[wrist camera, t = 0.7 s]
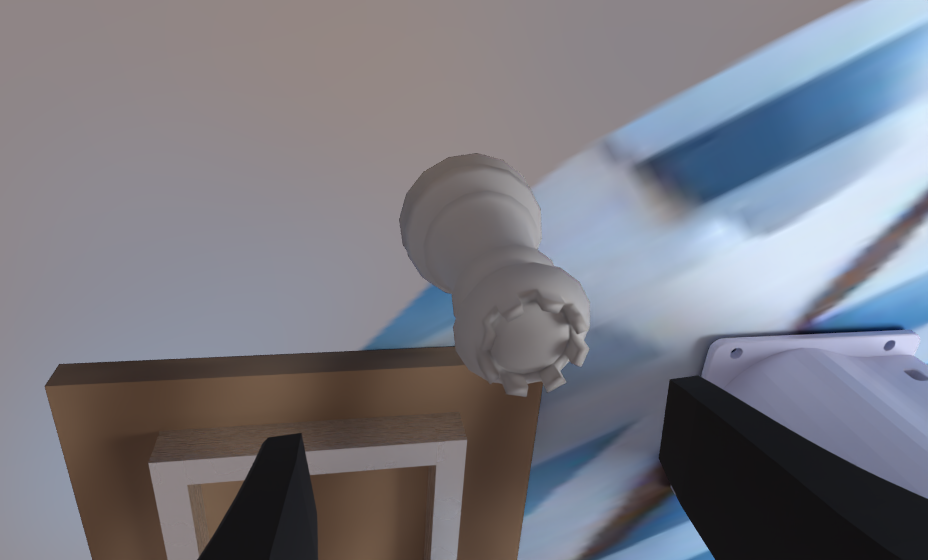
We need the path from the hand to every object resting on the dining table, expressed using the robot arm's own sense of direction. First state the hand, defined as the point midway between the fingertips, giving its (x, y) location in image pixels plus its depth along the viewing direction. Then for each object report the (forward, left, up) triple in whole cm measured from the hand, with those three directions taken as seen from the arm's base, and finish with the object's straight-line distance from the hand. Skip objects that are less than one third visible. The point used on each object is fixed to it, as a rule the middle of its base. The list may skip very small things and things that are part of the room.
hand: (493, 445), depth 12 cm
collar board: (+4, +11, -10) cm, 15 cm away
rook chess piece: (-1, -1, -10) cm, 10 cm away
